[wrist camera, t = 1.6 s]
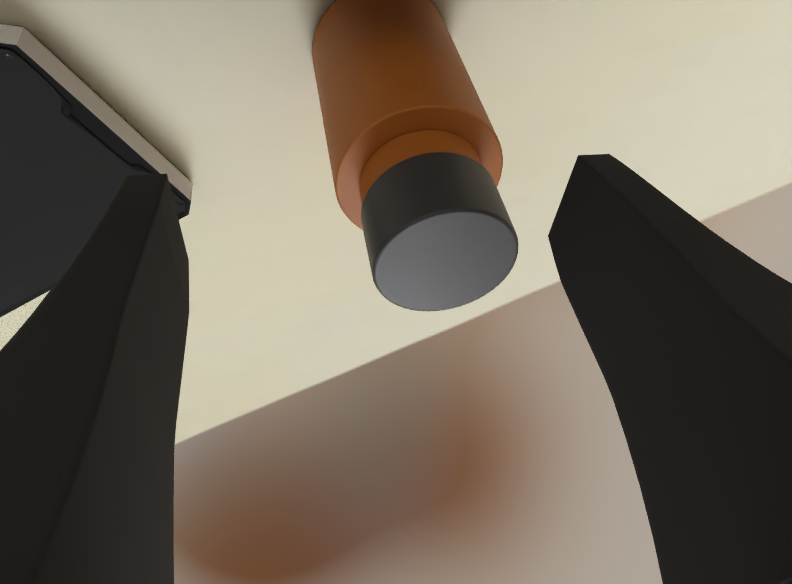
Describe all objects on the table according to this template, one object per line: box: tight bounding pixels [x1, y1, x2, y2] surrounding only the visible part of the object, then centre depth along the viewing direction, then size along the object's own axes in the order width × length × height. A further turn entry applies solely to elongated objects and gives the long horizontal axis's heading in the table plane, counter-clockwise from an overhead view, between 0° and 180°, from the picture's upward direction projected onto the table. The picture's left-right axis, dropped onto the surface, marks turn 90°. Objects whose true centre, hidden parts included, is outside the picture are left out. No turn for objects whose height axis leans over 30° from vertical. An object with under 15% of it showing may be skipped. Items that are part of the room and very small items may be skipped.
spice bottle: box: [312, 0, 518, 311], centre depth 17 cm, size 4×4×10 cm
